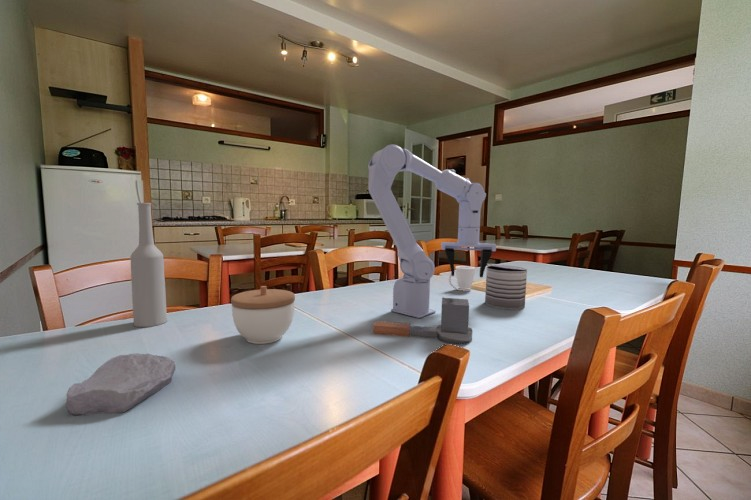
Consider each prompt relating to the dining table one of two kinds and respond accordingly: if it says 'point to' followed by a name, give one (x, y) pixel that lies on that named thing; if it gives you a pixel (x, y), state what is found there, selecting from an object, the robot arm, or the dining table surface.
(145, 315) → the bottle
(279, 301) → the lidded bowl
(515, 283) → the can
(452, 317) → the dark grey cube
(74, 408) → the stone block
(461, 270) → the cup
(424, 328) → the ratchet
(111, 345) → the dining table surface
